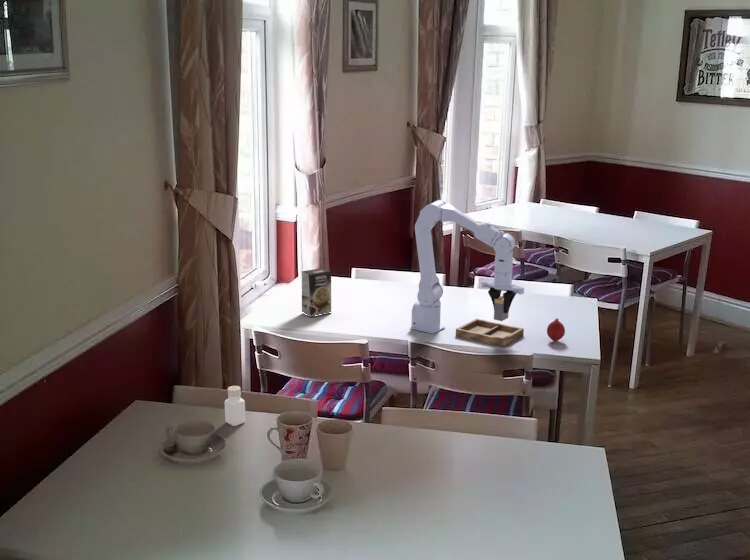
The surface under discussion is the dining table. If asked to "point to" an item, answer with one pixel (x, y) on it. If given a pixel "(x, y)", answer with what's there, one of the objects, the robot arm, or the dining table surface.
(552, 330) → the onion
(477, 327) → the walnut tray
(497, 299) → the battery cell
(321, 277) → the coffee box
